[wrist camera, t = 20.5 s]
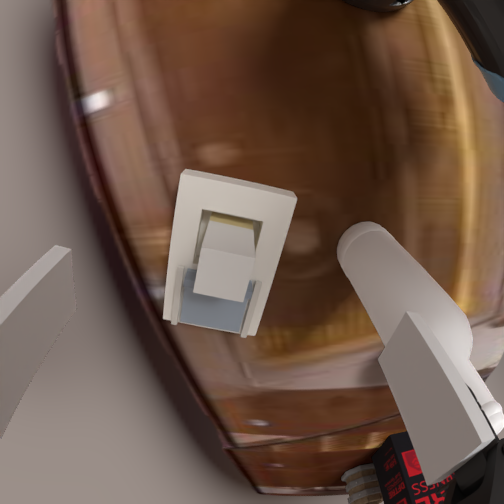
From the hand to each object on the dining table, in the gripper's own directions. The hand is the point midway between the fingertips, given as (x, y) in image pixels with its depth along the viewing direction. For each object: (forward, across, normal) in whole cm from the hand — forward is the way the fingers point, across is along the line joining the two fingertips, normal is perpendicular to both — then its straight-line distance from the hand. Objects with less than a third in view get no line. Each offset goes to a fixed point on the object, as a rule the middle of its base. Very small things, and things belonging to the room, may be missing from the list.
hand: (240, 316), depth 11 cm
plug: (+26, 0, -8) cm, 27 cm away
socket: (+26, 0, -11) cm, 29 cm away
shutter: (+23, 0, -16) cm, 28 cm away
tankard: (+27, +57, -84) cm, 105 cm away
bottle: (+27, +18, -6) cm, 33 cm away
